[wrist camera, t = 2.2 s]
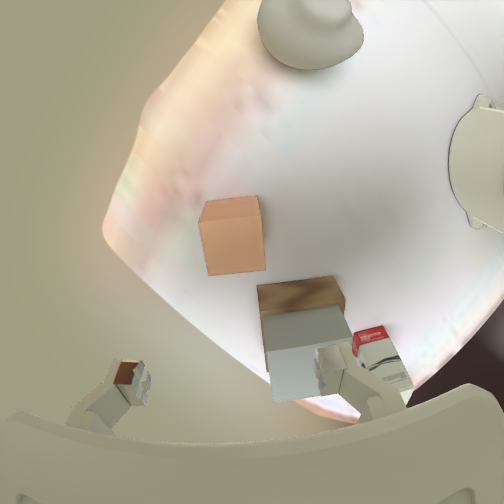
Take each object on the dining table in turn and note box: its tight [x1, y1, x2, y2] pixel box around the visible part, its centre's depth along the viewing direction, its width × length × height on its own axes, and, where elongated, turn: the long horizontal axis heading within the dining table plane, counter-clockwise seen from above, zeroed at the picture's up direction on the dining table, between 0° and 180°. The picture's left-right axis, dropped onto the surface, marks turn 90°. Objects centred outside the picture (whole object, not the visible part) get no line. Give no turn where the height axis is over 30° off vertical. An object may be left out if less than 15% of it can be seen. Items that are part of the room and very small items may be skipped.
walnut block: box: [257, 276, 346, 372], centre depth 32 cm, size 9×10×5 cm
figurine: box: [257, 0, 364, 69], centre depth 15 cm, size 8×5×12 cm
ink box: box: [352, 326, 414, 405], centre depth 33 cm, size 8×5×12 cm, turn 9°
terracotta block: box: [198, 195, 266, 276], centre depth 25 cm, size 5×5×6 cm
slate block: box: [262, 304, 353, 403], centre depth 27 cm, size 8×9×5 cm
